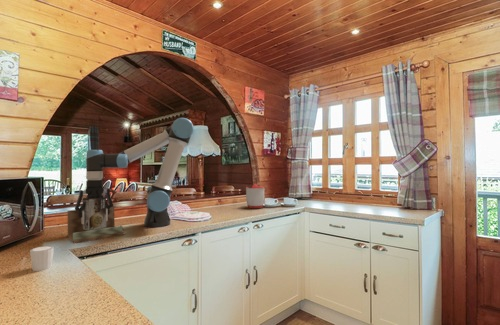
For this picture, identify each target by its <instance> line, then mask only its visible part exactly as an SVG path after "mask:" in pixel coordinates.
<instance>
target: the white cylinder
mask: <svg viewBox="0 0 500 325" xmlns="http://www.w3.org/2000/svg"><path fill="white" fill-rule="evenodd" d="M54 248H55V247H54V246H53V245H46V246H38V247H37V246H36V247H34V248H32V249H30V250H29V254H30V262H31V263H30V264H31V269H32V270H31V271H32V272H41V271H46V270H49V269H51V268H52V267H53V259H54V251H55V250H54Z"/></svg>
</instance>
